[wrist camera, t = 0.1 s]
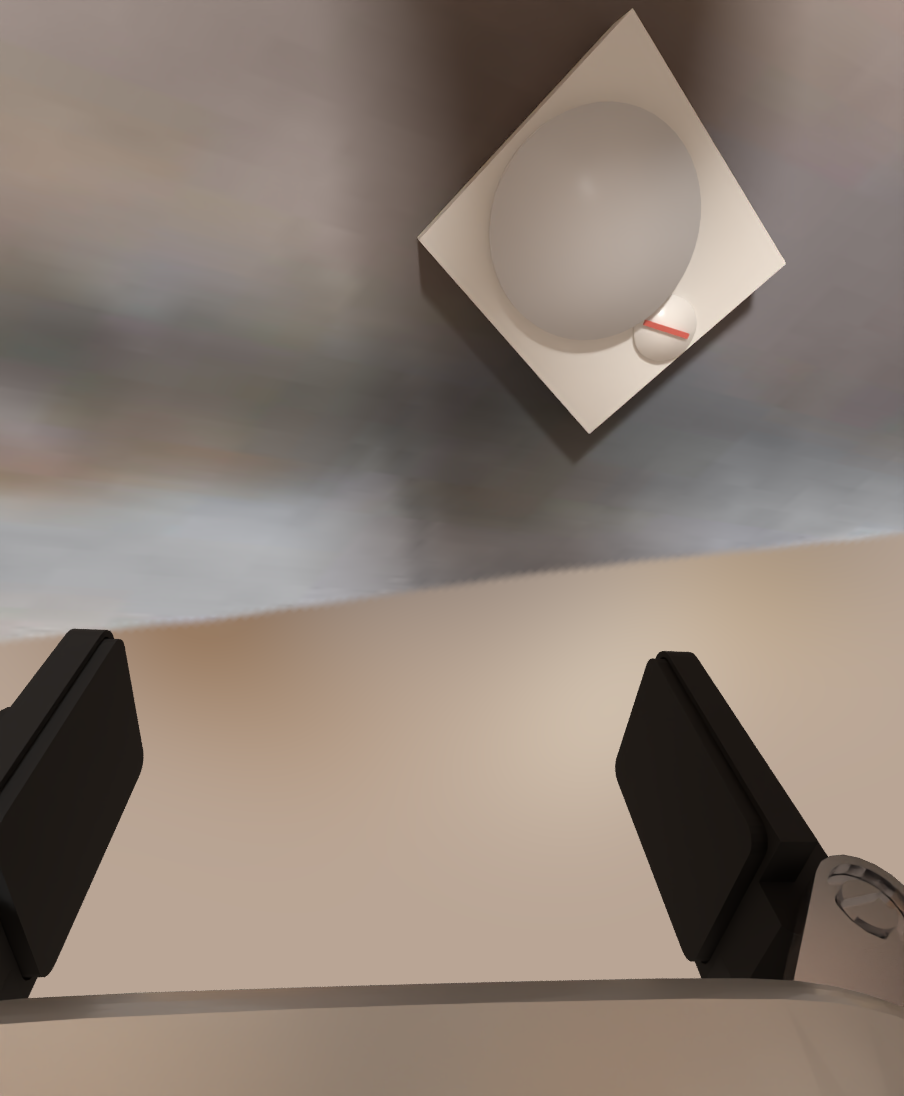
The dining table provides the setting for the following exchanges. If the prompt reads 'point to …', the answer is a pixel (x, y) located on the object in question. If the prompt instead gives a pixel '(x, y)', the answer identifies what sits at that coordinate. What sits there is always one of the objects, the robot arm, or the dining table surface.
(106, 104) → the dining table surface
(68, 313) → the dining table surface
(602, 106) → the kitchen scale
